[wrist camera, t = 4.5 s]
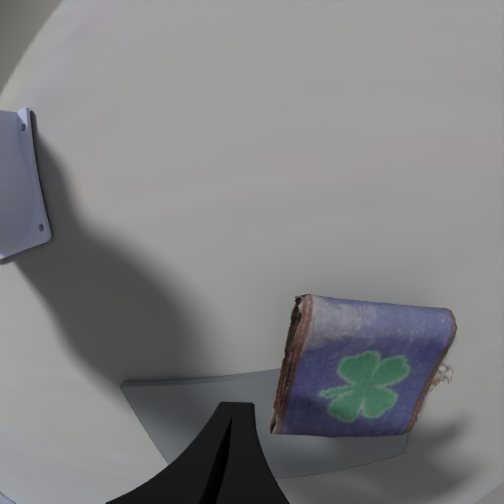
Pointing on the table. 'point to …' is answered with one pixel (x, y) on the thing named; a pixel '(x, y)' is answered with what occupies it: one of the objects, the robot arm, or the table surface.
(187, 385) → the mat
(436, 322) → the clover print pouch
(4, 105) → the table surface
